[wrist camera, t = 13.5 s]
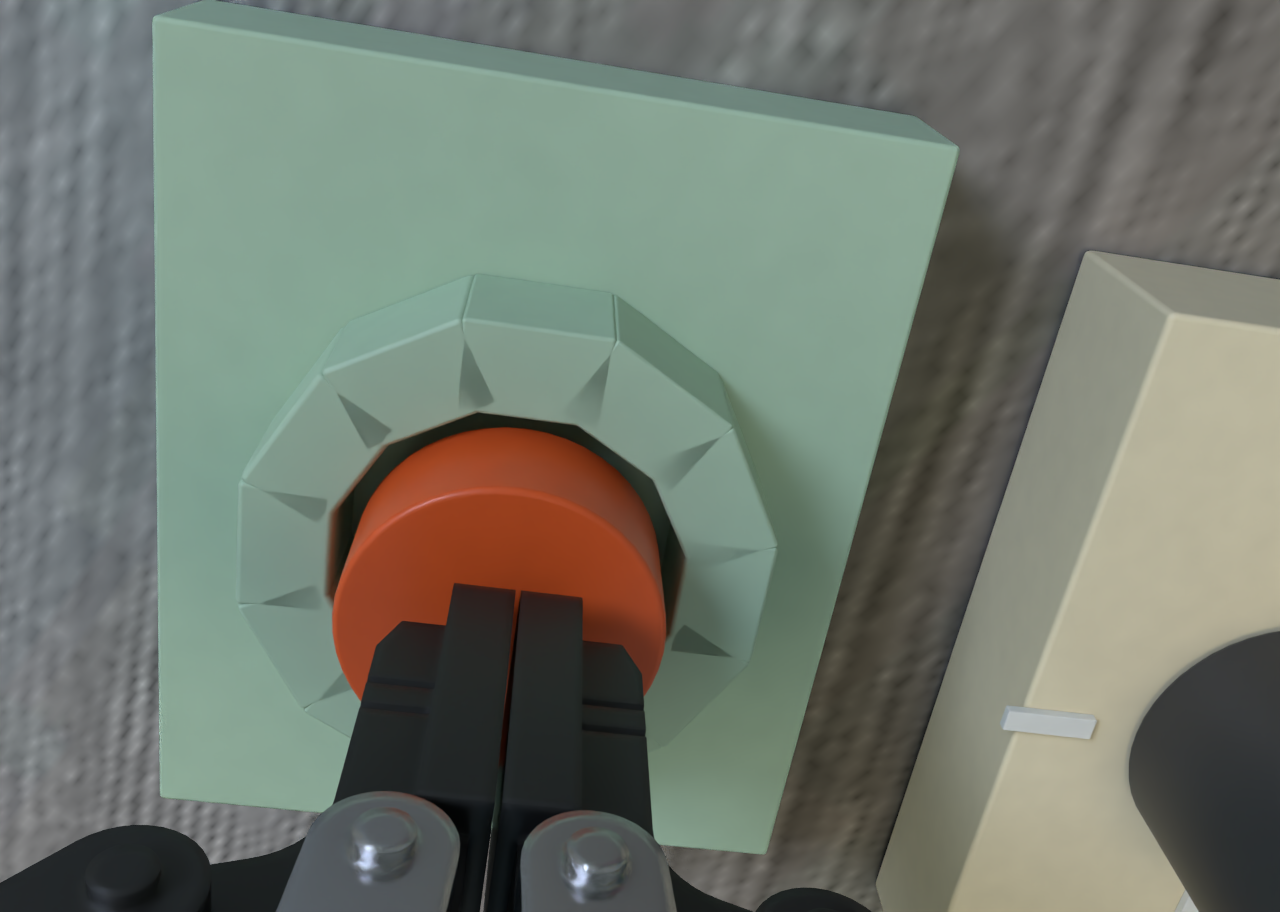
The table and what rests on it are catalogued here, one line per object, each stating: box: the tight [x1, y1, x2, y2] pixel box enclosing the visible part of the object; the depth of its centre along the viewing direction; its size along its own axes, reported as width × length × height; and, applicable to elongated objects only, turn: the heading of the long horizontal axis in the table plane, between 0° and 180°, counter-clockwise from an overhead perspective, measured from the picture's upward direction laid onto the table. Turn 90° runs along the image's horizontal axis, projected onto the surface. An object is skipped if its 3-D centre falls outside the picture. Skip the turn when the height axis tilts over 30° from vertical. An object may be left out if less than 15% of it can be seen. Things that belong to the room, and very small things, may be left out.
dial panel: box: [876, 251, 1280, 912], centre depth 20 cm, size 13×10×3 cm
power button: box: [332, 427, 666, 716], centre depth 15 cm, size 4×4×2 cm
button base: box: [152, 0, 960, 854], centre depth 17 cm, size 12×10×4 cm
